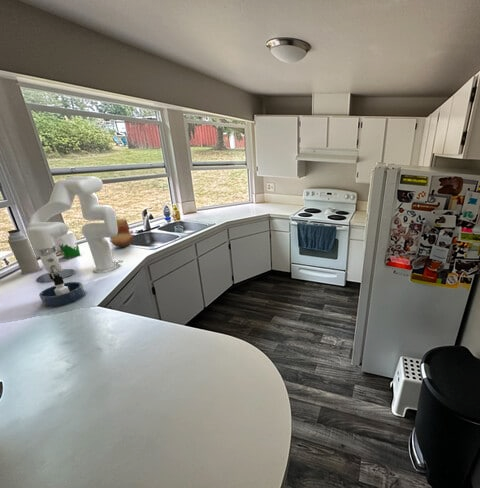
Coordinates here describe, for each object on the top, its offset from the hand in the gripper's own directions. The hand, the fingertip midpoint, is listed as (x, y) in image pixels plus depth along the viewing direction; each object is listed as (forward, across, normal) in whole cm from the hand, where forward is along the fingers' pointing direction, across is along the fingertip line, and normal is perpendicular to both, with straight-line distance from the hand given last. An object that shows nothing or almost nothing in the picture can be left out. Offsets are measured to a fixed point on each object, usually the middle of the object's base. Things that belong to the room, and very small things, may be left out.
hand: (57, 281), depth 129 cm
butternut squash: (+10, +66, -48) cm, 82 cm away
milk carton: (+10, +72, -17) cm, 75 cm away
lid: (+10, +37, -3) cm, 39 cm away
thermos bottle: (+10, +58, +5) cm, 59 cm away
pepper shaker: (+11, 0, 0) cm, 11 cm away
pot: (+11, 0, 0) cm, 11 cm away
